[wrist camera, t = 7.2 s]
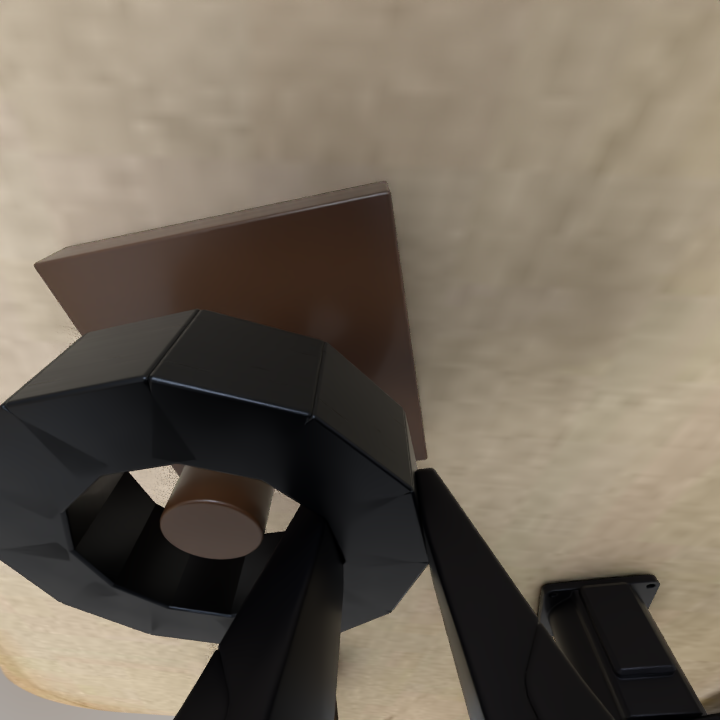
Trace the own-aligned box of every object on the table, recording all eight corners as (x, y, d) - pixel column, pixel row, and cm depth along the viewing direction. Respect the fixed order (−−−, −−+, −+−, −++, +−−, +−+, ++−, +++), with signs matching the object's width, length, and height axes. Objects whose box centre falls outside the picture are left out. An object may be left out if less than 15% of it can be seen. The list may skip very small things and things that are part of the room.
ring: (435, 546, 12) (448, 629, 10) (166, 577, 13) (133, 656, 11) (373, 268, 7) (376, 331, 5) (-52, 361, 8) (-176, 439, 6)
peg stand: (422, 432, 16) (457, 616, 11) (200, 463, 17) (121, 646, 12) (386, 179, 11) (419, 273, 5) (64, 247, 12) (-216, 388, 6)
